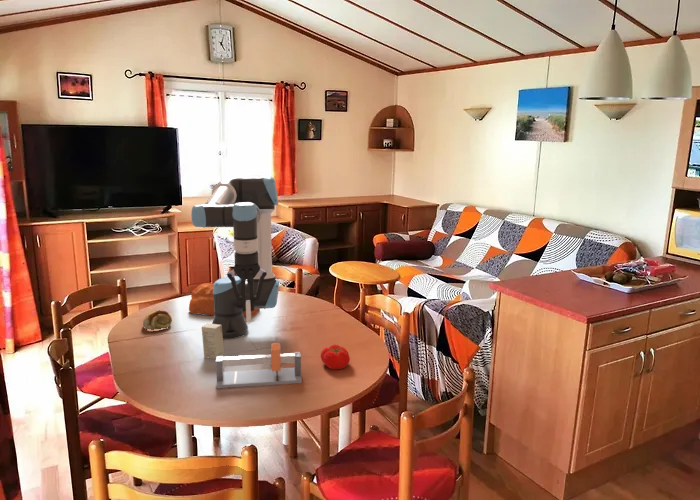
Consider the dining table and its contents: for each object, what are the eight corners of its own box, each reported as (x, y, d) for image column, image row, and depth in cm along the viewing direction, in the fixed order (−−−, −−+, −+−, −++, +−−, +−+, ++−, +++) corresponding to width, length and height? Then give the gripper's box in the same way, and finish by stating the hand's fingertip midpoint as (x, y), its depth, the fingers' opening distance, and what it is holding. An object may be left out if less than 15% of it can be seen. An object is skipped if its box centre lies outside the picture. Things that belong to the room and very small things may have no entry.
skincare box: (224, 355, 203) (222, 324, 200) (217, 359, 199) (216, 328, 196) (209, 353, 205) (207, 322, 202) (202, 357, 201) (201, 326, 198)
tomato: (328, 373, 189) (328, 356, 187) (317, 361, 198) (317, 344, 197) (353, 369, 192) (354, 352, 191) (342, 357, 202) (342, 341, 201)
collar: (271, 371, 181) (271, 350, 179) (271, 363, 187) (271, 343, 185) (280, 370, 182) (280, 349, 180) (280, 362, 187) (279, 342, 186)
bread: (202, 303, 263) (200, 277, 260) (262, 309, 256) (262, 282, 253) (185, 314, 248) (183, 286, 245) (249, 320, 241) (248, 292, 238)
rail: (216, 381, 180) (215, 360, 178) (217, 376, 184) (216, 355, 182) (301, 376, 184) (300, 355, 183) (300, 371, 188) (299, 351, 186)
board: (216, 388, 177) (216, 385, 177) (218, 374, 187) (218, 371, 187) (301, 382, 182) (301, 379, 181) (299, 369, 191) (299, 367, 191)
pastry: (156, 334, 223) (155, 316, 221) (135, 329, 228) (133, 311, 227) (181, 324, 235) (180, 306, 233) (160, 319, 241) (158, 302, 239)
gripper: (224, 254, 169) (228, 325, 175) (266, 253, 171) (268, 323, 177) (226, 248, 176) (229, 316, 182) (266, 247, 179) (268, 315, 184)
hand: (248, 319), depth 180 cm, fingers closed
